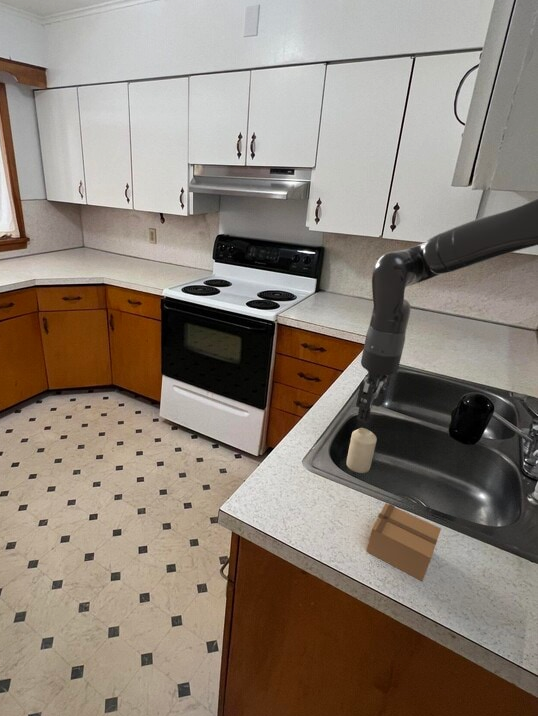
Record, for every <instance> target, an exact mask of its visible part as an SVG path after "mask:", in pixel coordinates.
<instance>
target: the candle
mask: <svg viewBox="0 0 538 716" xmlns="http://www.w3.org/2000/svg"><path fill="white" fill-rule="evenodd" d="M377 440H378V438H377V436H376V435H375V433H373V432H372V431H370V430H369V429H367V428H366V427H365V428H364V427H360V428H358V429H355V430H353V431H352V433H351V437H350V441H349V447H348V452H347V457H346V466H347V467H348V469H349V470H350V471H352V472H355V473H358V474H366V473H368V472H369V471H370V469H371V466H372V463H373V458H374V453H375V451H376V445H377Z"/></svg>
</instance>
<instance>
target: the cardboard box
mask: <svg viewBox="0 0 538 716" xmlns="http://www.w3.org/2000/svg"><path fill="white" fill-rule="evenodd" d="M441 531H442V528H441V527H439V526H437V525H435V524H433V523H430V522H428V521H426V520H423V519H421V518H420V517H417V516H415V515H413V514H410V513H409V512H406V511H404V510H402V509H400V508H398V507H396V506H395V505H393V504H391V503H386V502H384V505H383V507H382V508H381V511H380V512H379V513H378V515H377V518H376V519H375V522H374V523H373V525H372V527H371V530H370V536H369V539H368V543H367V547H366V553H368V554H370V555H372V556H373V557H375V558H378V559H379V560H381V561H383V562H384V563H387V564H389V565H391V566H392V567H394V568H397V569H398V570H400V571H401V572H403V573H405V574H407V575H409V576H411V577H413V578H415V579H417V580H419V581H420V582H424V579H425V577H426V573H427V571H428V568H429V565H430V562H431V559H432V556H433V553H434V550H435V547H436V545H437V543H438V539H439V535H440V533H441Z"/></svg>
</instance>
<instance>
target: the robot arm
mask: <svg viewBox="0 0 538 716" xmlns="http://www.w3.org/2000/svg"><path fill="white" fill-rule="evenodd" d="M536 246H538V198H536V199H534V200H532V201H530V202H527V203H525V204H522V205H520V206H517V207H514V208H511V209H508V210H505V211H502V212H498V213H495V214H491V215H490V214H489V215H486V216H483V217H480V218H475V219H474V220H471V221H468V222H465V223H463V224H460V225H457V226H455V227H451V228H450V229H447V230H445V231H443V232H440V233H437V234H436V235H433V236H432V237H430V238H429V239H427V240H426V241H425V242H423V243H420V244H417V245H415V246H412V247H409V248H405V249H401V250H395V251H390V252H386V253H385V254H383V255H381V256H380V257H379V258H378V259H377V260H376V262H375V265H374V267H373V270H372V275H371V290H372V291H371V293H372V303H373V307H372V310H371V314H370V315H371V316H370V321H369V325H368V329H367V331H366V335H365V340H364V345H363V349H362V350H363V351H362V355H361V360H360V365H361V367H362V368H363V369H365V370H366V371H367V372H368V373H367V374H365V376H364V379H363V380H362V381H361V382H360V385H359V390H358V395H357V399H356V403H355V407H356V408H358V412H357V416H356V420H357V421H358V422H360V423H364V424H367V423H368V422H369V420H370V419H369V418H370V415H371V410H372V407H373V406H375V407H376V408H377V407H380V406H381V405H382V401H383V396H384V393H385V391H386V390H387V387H388V386H389V385H390V379H391V375H393V374H396V373H397V372H398V371H399V367H400V363H401V360H402V355H403V350H404V346H405V342H406V333H407V329H408V324H409V320H410V315H411V308H412V307H411V303H410V302H409V301H408V300H406V299H405V290H406V287H410V286H412V285H416V284H419V283H422V282H425V281H428V280H430V279H432V278H435V277H438V276H440V275H445V274H449V273H454V272H457V271H459V270H462V269H466V268H469V267H472V266H475V265H478V264H481V263H483V262H487V261H490V260H493V259H496V258H499V257H502V256H505V255H508V254H511V253H514V252H518V251H521V250H524V249H525V250H526V249H528V248H532V247H536ZM364 400H365V401H364Z"/></svg>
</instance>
